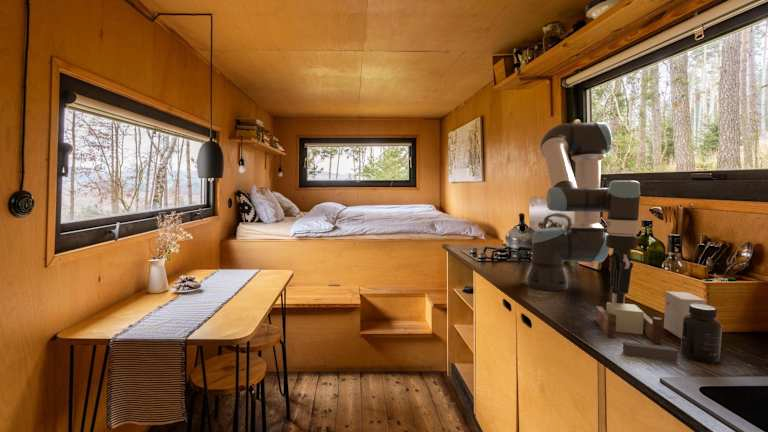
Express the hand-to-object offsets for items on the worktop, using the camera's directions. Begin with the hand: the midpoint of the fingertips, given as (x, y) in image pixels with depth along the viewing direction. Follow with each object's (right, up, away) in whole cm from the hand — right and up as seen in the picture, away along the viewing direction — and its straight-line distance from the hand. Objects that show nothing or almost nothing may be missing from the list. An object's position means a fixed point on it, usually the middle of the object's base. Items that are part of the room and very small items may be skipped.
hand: (617, 314), depth 107 cm
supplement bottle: (+4, -4, -23) cm, 24 cm away
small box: (+12, -3, -9) cm, 15 cm away
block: (-2, -2, -5) cm, 6 cm away
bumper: (-7, -4, -23) cm, 24 cm away
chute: (-2, -2, -7) cm, 7 cm away
